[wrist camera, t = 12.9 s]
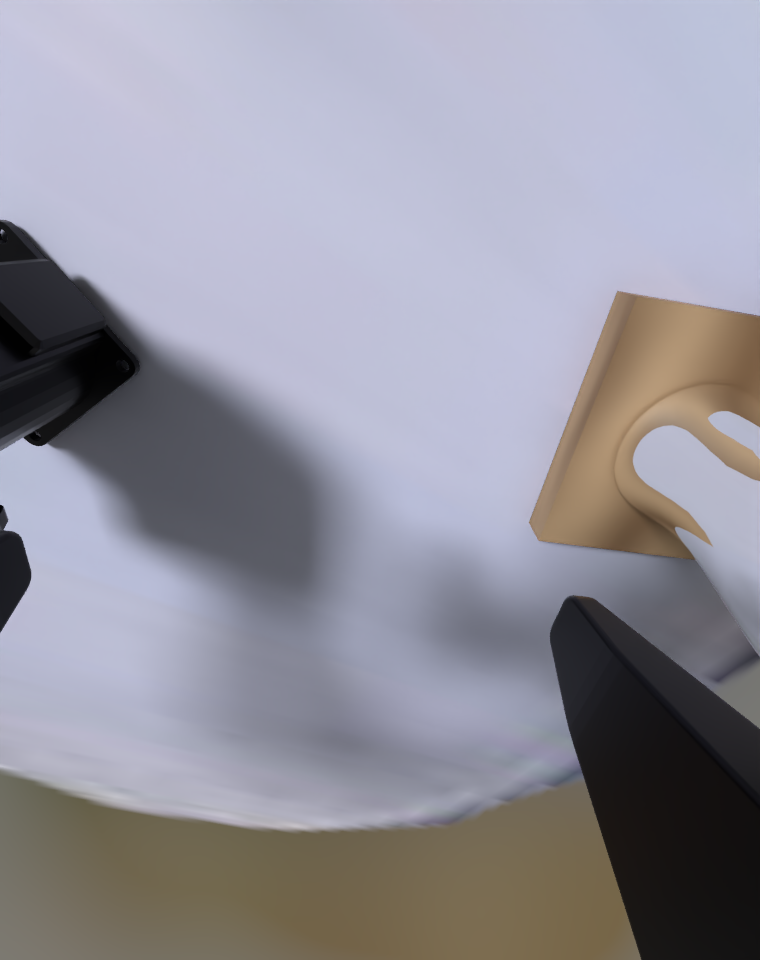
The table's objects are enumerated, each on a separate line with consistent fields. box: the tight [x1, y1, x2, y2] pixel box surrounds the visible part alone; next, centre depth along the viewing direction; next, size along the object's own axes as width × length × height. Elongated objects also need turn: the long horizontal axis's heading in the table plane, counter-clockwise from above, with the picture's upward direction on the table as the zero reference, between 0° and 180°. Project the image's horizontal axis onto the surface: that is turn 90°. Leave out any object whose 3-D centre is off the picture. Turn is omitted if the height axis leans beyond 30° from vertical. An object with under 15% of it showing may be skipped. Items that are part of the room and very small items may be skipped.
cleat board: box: [529, 291, 760, 560], centre depth 17 cm, size 10×11×8 cm
